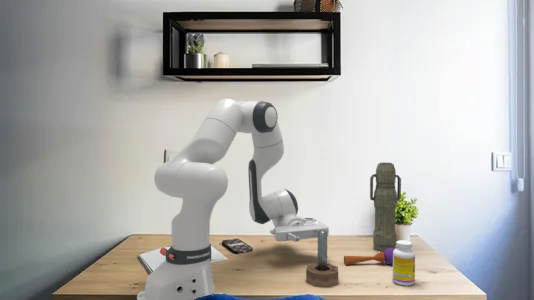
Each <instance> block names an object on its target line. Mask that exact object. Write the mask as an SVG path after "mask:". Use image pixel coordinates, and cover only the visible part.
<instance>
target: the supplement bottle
mask: <svg viewBox="0 0 534 300" xmlns="http://www.w3.org/2000/svg"><path fill="white" fill-rule="evenodd" d="M412 247H413V243H412V242H411V241H409V240H405V239H404V240H403V239H401V240H396V249H395V250H394V251H393V265H392V282H393V283H395V284H397V285H400V286H407V287H409V286H413V285H414V284H415V282H416V281H415V279H416V253H415V251H414V250H413V248H412Z"/></svg>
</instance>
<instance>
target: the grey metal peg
mask: <svg viewBox="0 0 534 300" xmlns="http://www.w3.org/2000/svg"><path fill="white" fill-rule="evenodd" d="M317 263H318V271H327V263H328V237H327V231H326V230H319V231H318V238H317Z"/></svg>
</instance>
